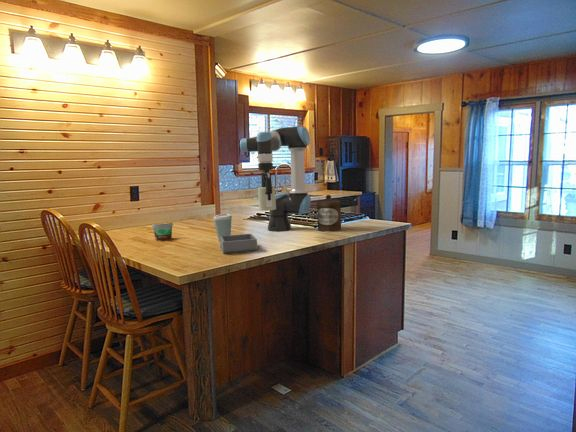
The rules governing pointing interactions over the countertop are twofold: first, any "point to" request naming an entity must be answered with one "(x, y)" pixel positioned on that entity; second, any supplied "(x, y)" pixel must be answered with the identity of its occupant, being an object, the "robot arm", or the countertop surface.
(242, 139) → the robot arm
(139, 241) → the countertop surface
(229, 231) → the disposable coffee cup
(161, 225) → the food container
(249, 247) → the tub
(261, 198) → the can
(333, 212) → the wooden container
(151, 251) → the countertop surface
